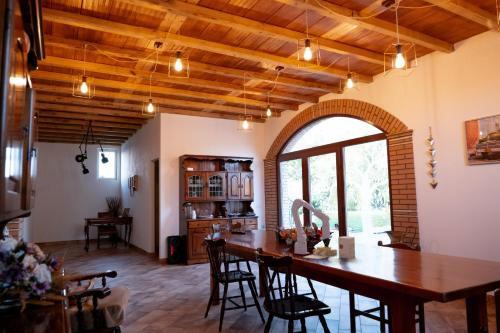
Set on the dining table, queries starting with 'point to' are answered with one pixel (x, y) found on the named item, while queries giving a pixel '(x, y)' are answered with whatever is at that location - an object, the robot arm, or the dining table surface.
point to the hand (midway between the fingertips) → (326, 248)
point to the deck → (325, 252)
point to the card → (324, 248)
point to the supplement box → (346, 247)
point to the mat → (315, 256)
